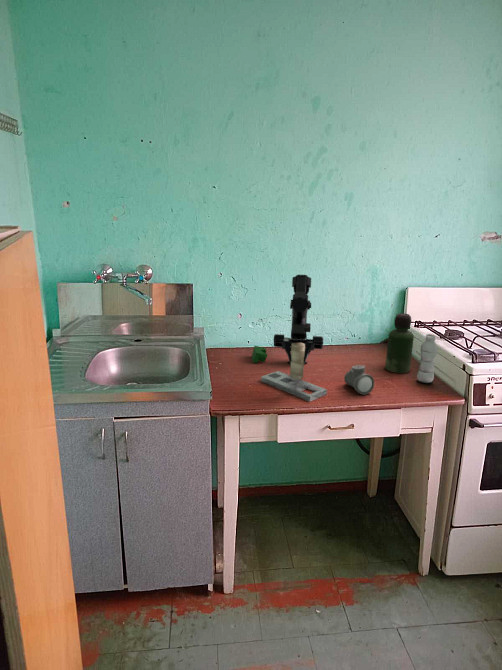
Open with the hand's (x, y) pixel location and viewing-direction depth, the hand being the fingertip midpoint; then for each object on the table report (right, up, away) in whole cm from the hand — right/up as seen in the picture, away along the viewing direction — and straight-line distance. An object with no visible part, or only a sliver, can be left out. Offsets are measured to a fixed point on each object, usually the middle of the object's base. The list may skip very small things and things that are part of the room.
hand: (297, 361), depth 177 cm
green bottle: (+47, -5, +32) cm, 58 cm away
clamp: (-13, -2, +41) cm, 43 cm away
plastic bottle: (+55, -10, +19) cm, 59 cm away
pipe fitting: (+25, -12, +11) cm, 29 cm away
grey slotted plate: (-1, -11, +11) cm, 15 cm away
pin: (0, -6, +3) cm, 7 cm away
